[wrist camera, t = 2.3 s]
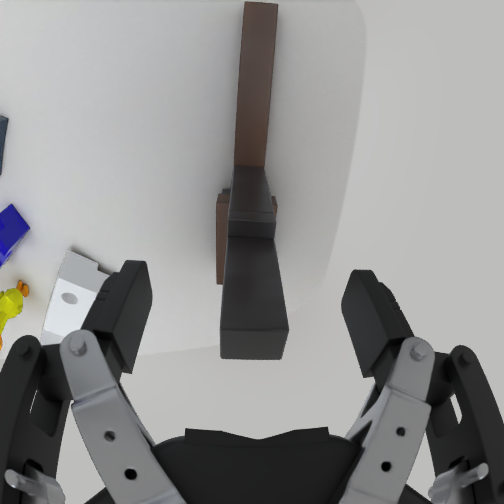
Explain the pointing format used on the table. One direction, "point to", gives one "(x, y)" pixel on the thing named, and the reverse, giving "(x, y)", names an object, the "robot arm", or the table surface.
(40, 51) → the table surface
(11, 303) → the toy figure
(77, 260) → the bracket
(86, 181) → the table surface
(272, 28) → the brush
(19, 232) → the cable holder
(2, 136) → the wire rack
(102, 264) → the table surface
